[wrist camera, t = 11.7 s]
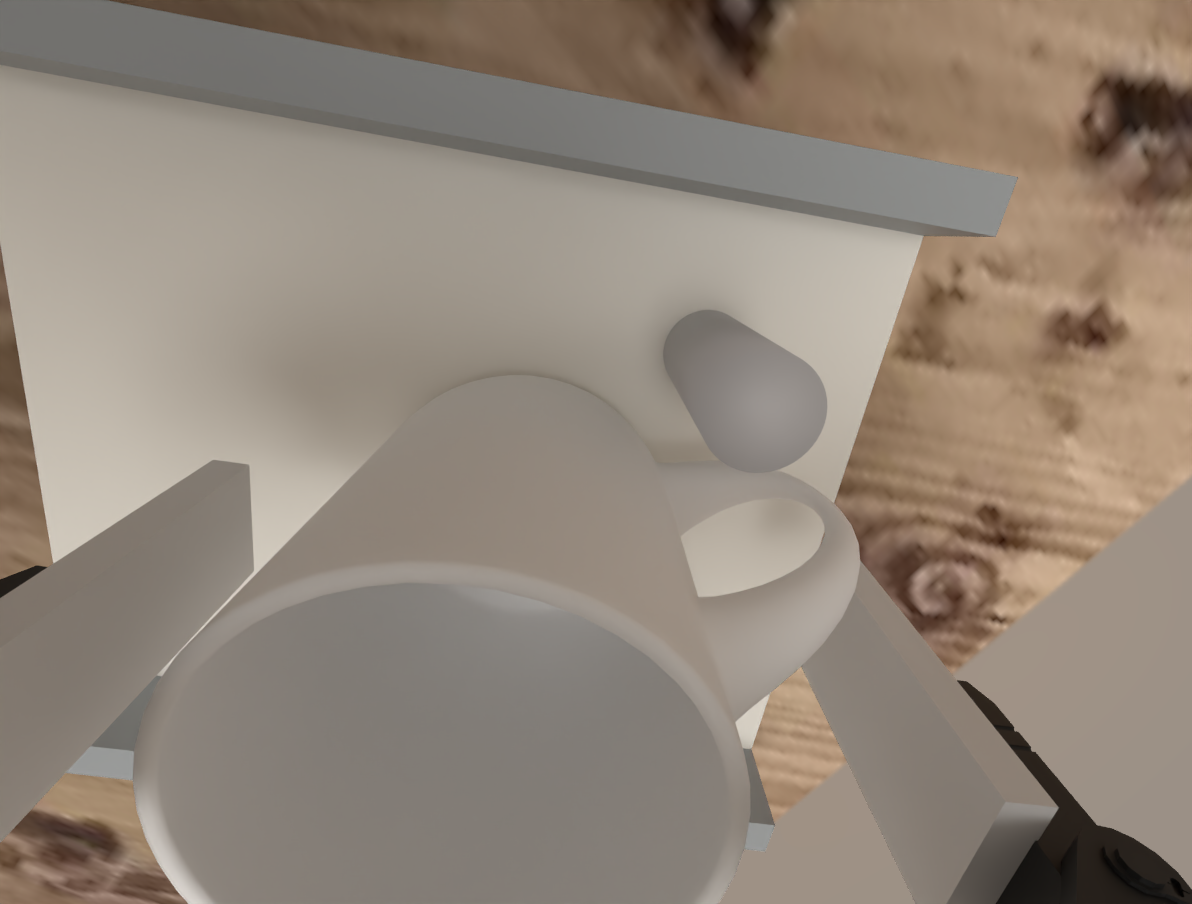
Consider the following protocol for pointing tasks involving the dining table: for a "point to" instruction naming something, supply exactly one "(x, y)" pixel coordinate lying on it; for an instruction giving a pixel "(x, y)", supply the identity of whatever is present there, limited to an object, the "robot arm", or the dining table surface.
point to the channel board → (425, 276)
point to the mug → (484, 676)
